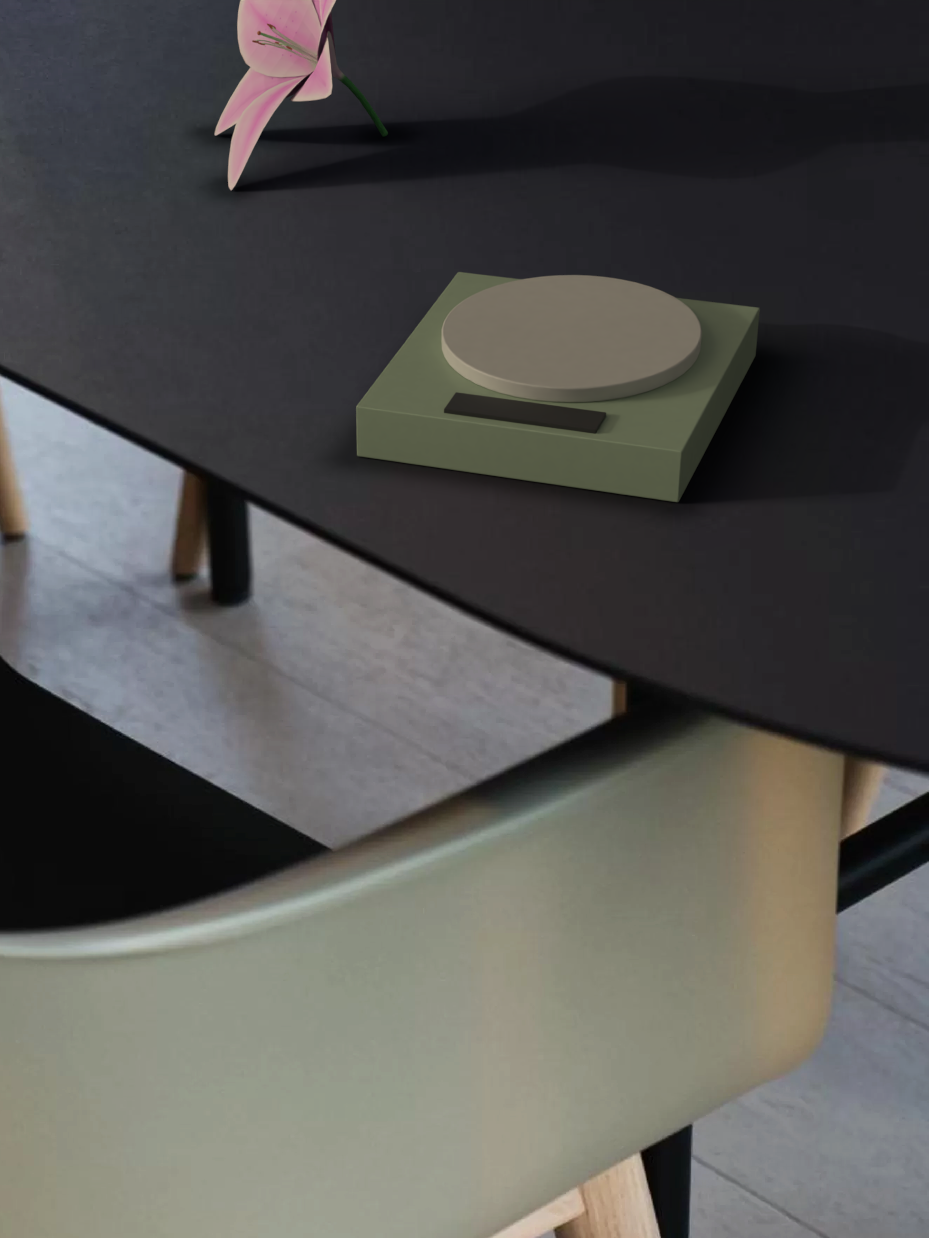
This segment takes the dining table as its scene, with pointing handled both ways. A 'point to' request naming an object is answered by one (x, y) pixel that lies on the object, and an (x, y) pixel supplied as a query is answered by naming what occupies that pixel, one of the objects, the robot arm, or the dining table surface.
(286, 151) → the dining table surface
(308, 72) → the lily
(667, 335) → the scale
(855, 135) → the dining table surface
